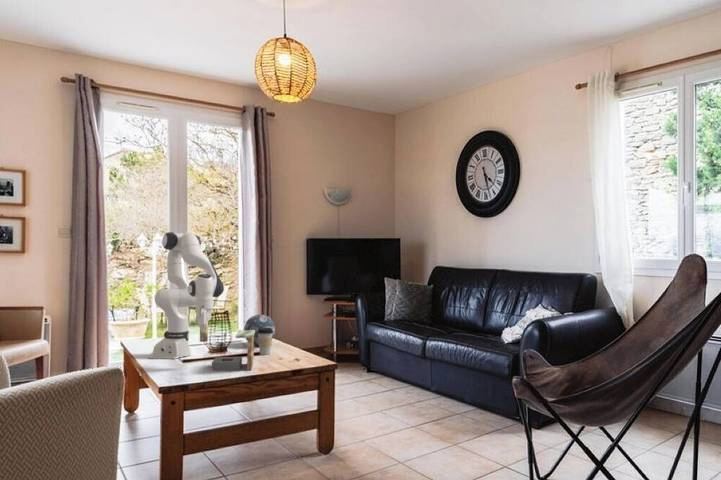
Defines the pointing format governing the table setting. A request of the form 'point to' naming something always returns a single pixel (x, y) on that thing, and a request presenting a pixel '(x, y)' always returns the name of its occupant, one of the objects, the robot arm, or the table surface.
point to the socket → (227, 363)
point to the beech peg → (204, 333)
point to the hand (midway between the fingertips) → (203, 331)
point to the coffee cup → (265, 340)
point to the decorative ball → (259, 325)
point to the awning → (250, 349)
